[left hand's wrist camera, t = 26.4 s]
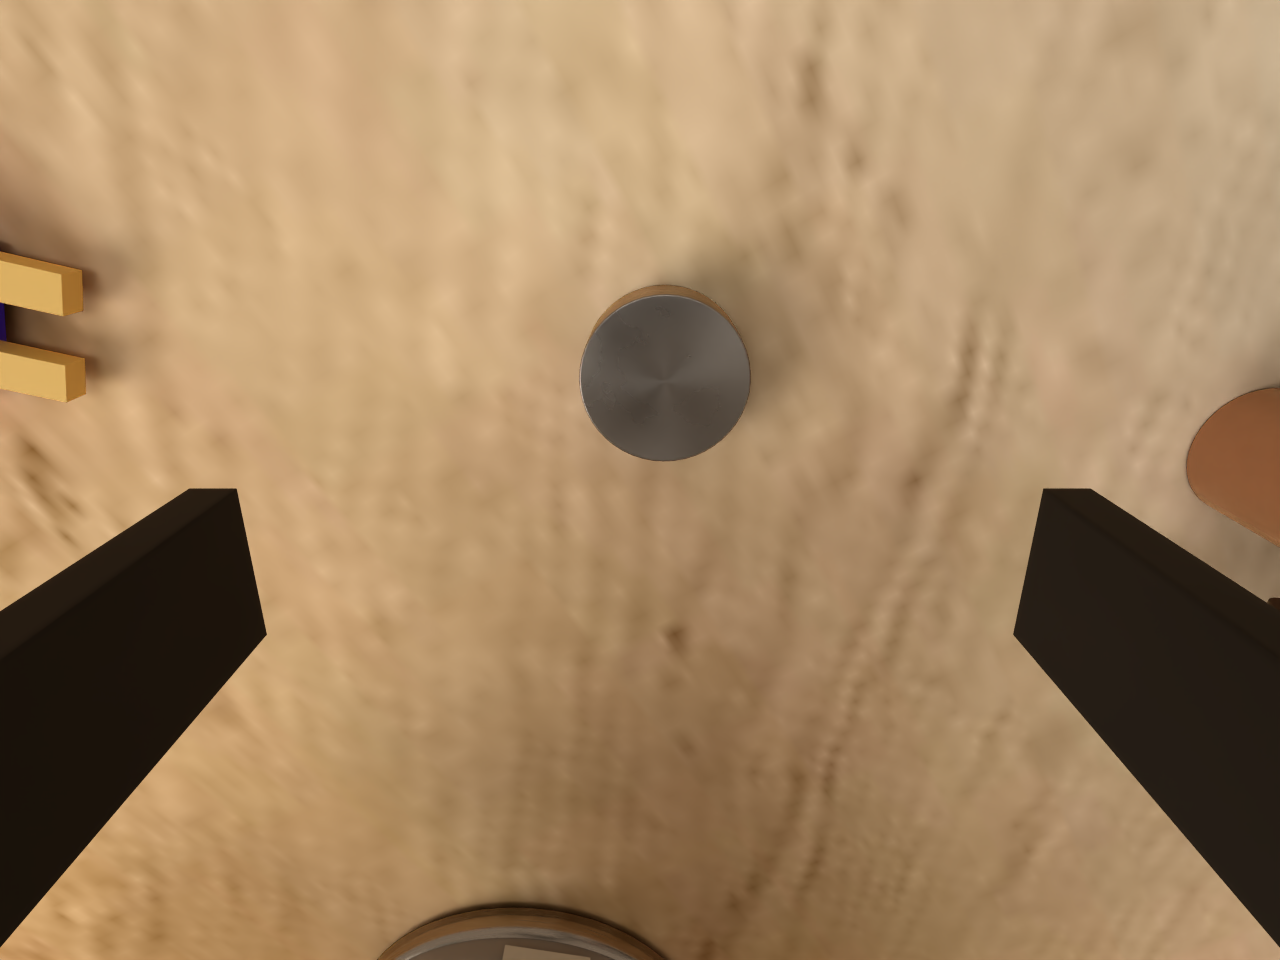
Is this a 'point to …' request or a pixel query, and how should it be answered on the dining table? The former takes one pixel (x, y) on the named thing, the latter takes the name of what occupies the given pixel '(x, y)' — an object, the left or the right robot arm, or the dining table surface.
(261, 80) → the dining table surface
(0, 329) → the toy figure
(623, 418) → the lid
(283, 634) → the dining table surface
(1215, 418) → the brown capped cylinder
